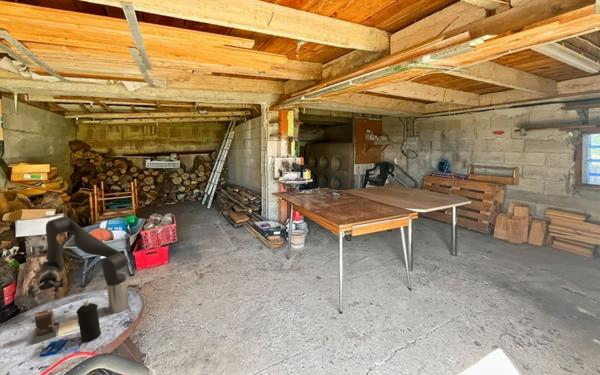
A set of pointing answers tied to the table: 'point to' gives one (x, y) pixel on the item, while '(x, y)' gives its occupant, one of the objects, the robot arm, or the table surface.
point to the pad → (68, 327)
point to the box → (44, 322)
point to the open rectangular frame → (43, 336)
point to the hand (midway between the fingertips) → (44, 293)
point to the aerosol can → (88, 322)
